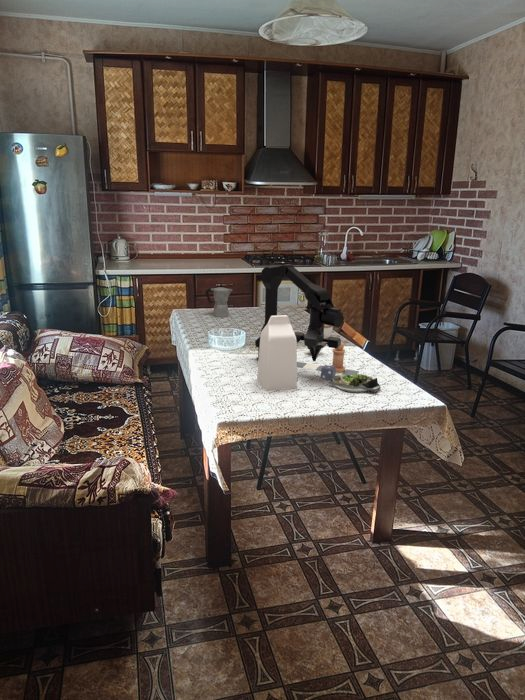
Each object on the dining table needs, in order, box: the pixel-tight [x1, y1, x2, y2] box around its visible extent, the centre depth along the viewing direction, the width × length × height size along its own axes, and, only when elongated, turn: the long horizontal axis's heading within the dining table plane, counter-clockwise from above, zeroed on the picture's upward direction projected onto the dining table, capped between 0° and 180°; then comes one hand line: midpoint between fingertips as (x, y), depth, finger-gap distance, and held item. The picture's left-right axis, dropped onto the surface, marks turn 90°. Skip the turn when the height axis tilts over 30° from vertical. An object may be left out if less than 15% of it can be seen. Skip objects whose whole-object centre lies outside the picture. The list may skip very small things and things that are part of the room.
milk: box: [256, 314, 298, 391], centre depth 197 cm, size 12×12×26 cm
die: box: [320, 364, 337, 381], centre depth 208 cm, size 4×5×5 cm
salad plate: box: [327, 373, 381, 393], centre depth 201 cm, size 19×18×5 cm
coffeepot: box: [204, 283, 233, 318], centre depth 302 cm, size 15×9×18 cm, turn 103°
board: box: [297, 361, 360, 375], centre depth 219 cm, size 28×7×1 cm, turn 68°
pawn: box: [330, 341, 346, 373], centre depth 215 cm, size 6×6×12 cm
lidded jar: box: [324, 325, 334, 339], centre depth 263 cm, size 11×11×9 cm
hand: (314, 361), depth 209 cm, fingers closed
